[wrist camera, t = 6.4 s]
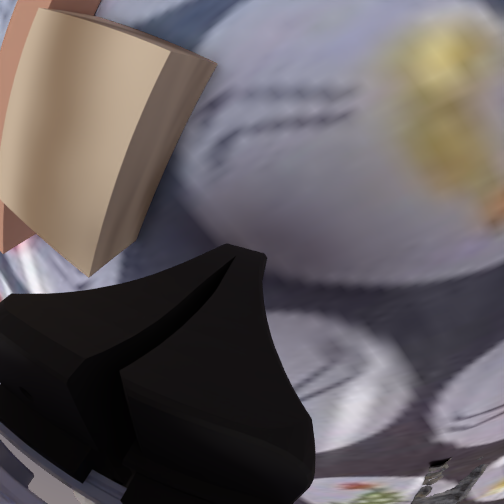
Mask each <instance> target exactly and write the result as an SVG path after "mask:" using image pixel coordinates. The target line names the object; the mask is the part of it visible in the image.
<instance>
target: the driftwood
mask: <svg viewBox="0 0 504 504" xmlns="http://www.w3.org/2000/svg"><path fill="white" fill-rule="evenodd" d="M483 457H484V456H483ZM483 457H481V458H479V459H482V458H483ZM479 459H477V460H479ZM449 460H450V459H449ZM449 460H448V461H449ZM448 461H447V462H448ZM447 462H445V463H443V464H440V465H438V466H437V465H435V466H431V467H429V468H430V469H429V472H430V471H435V470H438V469H440V468H442V467H443V469H442V471H439V472H436V473H428V474H427V475H426V477H425V480H424V483H423V485H432V484H434V483H435V482H437V481H438V480H440V479H441V478H442V477H443V475H441V474H442V472H443V471H444V470H445V469H447V468H449V467H448V465H447V464H446V463H447ZM487 466H488V464H486V465H485V464H483V465H480V466H478V467H476V468H475V469H474V470H473V471H472V472H471V473H470V474H469V475H468V476H467V477H466V478H464V479H463V480H462V481H461V480H460V483H458V484H459V485H457V486H455V488H452V489H450V490H447V491H445V492H443V493H439V494H434V495H433V496H432V495H431V496H430V497H426V496H427V495H428V494H429V493H430V492H431V490H432V488H431V487H430V486H425V487H422V488H421V489H420V491H419V492H418V494H417V496H415V497H414V500H413V502H412V503H411V504H459V502H460V501H461V500H462V499H464V498H465V497H466V496H467V494H468V492H469V491H470V490H471V488H472V487H473V485H474V484H475V483H476V482H477V480H478V478H479V477H480V476H481V475H482V473H483V472H484V471H485V469H486V467H487ZM439 475H441V476H439ZM437 476H439V477H438V478H435V479H432V478H434V477H437ZM429 479H432V480H430V481H428V480H429ZM461 482H462V484H461Z"/></svg>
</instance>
